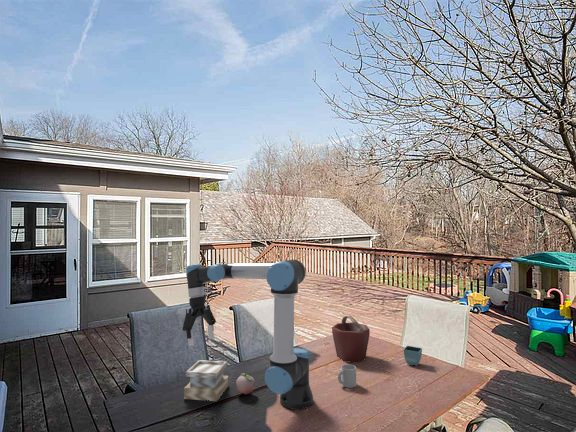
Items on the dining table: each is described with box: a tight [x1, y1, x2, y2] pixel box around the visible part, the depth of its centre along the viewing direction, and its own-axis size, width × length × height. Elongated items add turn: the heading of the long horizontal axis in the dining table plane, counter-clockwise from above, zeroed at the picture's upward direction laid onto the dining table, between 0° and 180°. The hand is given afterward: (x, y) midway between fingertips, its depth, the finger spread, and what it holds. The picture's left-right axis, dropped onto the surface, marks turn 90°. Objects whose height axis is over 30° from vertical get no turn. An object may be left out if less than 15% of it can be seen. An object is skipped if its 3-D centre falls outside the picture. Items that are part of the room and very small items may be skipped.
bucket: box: [331, 315, 371, 363], centre depth 213 cm, size 24×22×25 cm
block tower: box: [183, 359, 229, 402], centre depth 166 cm, size 16×16×12 cm
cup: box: [337, 363, 357, 389], centre depth 173 cm, size 7×10×9 cm
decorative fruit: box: [235, 372, 256, 396], centre depth 164 cm, size 9×8×10 cm
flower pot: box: [403, 345, 423, 367], centre depth 201 cm, size 9×9×9 cm
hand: (201, 342), depth 162 cm, fingers open, 13 cm apart
